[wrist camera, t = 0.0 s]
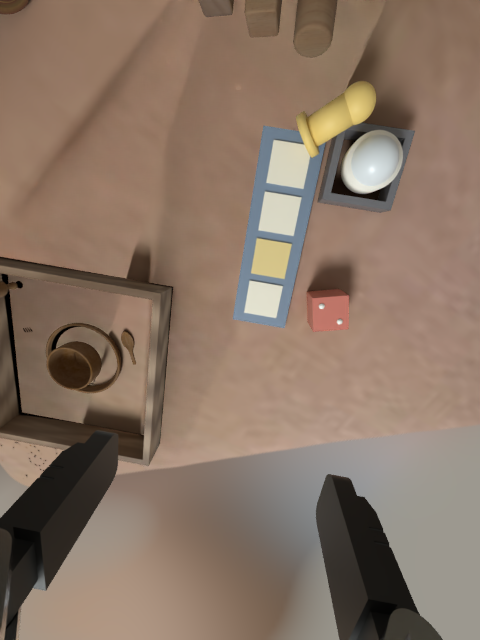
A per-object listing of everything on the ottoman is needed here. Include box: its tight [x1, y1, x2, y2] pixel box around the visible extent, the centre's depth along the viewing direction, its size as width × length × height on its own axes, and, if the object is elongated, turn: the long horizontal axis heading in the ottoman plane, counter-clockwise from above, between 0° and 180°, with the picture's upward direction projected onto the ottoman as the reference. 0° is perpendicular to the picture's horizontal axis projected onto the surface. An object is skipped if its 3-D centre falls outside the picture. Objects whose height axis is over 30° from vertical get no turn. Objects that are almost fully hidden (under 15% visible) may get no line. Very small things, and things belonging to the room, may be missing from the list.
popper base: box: [318, 123, 415, 213], centre depth 31 cm, size 8×8×3 cm
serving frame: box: [0, 257, 173, 466], centre depth 41 cm, size 28×26×5 cm
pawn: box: [296, 81, 376, 158], centre depth 28 cm, size 4×4×7 cm
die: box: [307, 289, 349, 332], centre depth 36 cm, size 4×4×4 cm
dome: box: [340, 130, 403, 194], centre depth 28 cm, size 6×6×5 cm
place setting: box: [0, 281, 136, 393], centre depth 40 cm, size 18×20×6 cm
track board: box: [233, 126, 326, 328], centre depth 35 cm, size 24×8×1 cm, turn 171°
